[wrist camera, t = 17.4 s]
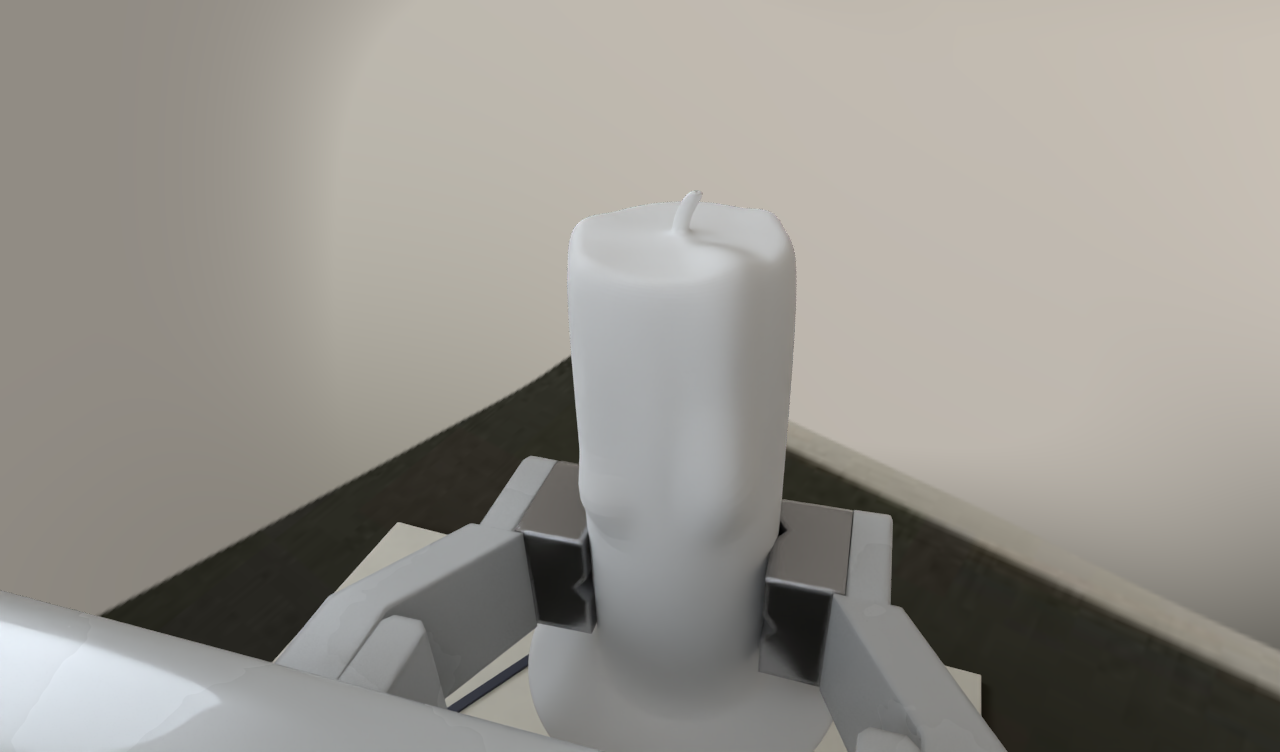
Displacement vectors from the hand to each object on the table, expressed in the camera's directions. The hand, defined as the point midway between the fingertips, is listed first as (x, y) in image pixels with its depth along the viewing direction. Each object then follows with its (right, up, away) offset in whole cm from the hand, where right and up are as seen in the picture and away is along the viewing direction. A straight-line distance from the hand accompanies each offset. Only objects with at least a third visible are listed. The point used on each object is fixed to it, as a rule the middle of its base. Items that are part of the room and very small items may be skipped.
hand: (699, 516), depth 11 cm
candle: (0, -6, +3) cm, 7 cm away
